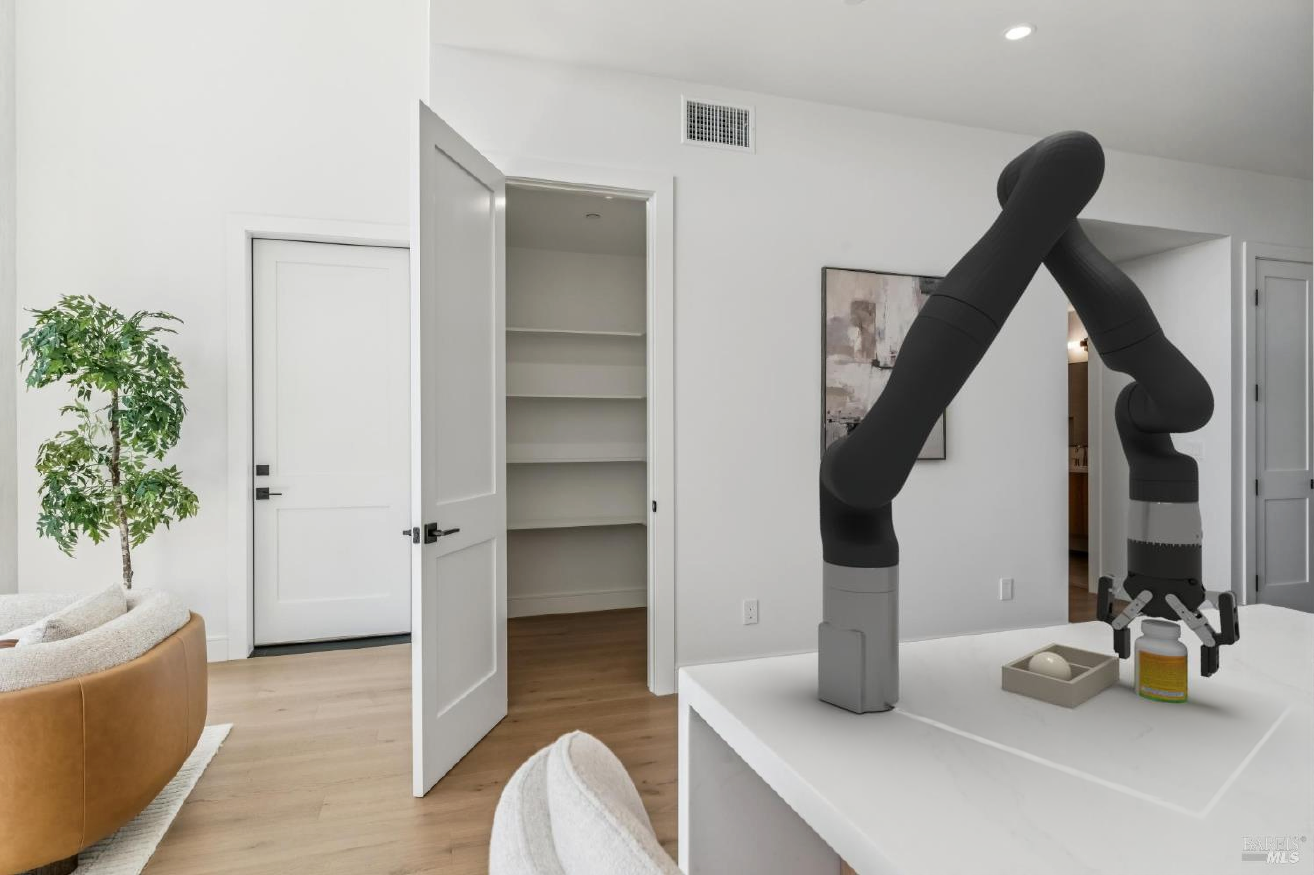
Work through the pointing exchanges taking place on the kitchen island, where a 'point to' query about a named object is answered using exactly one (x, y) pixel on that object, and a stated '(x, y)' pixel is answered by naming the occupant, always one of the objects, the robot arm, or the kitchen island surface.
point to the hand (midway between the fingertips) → (1164, 666)
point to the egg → (1050, 666)
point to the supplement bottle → (1161, 663)
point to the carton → (1086, 680)
